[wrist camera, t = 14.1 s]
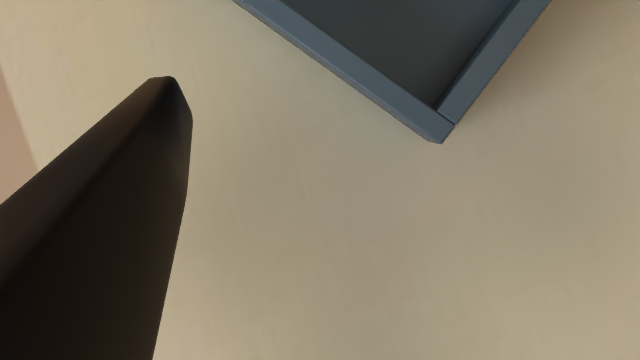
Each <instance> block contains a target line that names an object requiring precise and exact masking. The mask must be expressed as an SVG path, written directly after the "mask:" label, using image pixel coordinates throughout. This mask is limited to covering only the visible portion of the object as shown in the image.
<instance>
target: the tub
mask: <svg viewBox="0 0 640 360" xmlns="http://www.w3.org/2000/svg"><path fill="white" fill-rule="evenodd" d="M233 1H234V2H235V3H237V4H238V5H239V6H241V7H242V8H244V9H245V10H246V11H248V12H249V13H251V14H252V15H253V16H255V17H256V18H257V19H259V20H260V21H262V22H263V23H264V24H266V25H267V26H269V27H270V28H271V29H273V30H274V31H276V32H277V33H278V34H280V35H281V36H282V37H284V38H285V39H287V40H288V41H289V42H291V43H292V44H294V45H295V46H296V47H298V48H299V49H300V50H302V51H303V52H305V53H306V54H307V55H309V56H310V57H312V58H313V59H314V60H316V61H317V62H319V63H320V64H321V65H323V66H324V67H325V68H327V69H328V70H330V71H331V72H332V73H334V74H335V75H337V76H338V77H339V78H341V79H342V80H344V81H345V82H346V83H348V84H349V85H350V86H352V87H353V88H355V89H356V90H357V91H359V92H360V93H362V94H363V95H364V96H366V97H367V98H368V99H370V100H371V101H373V102H374V103H375V104H377V105H378V106H380V107H381V108H382V109H384V110H385V111H387V112H388V113H389V114H391V115H392V116H393V117H395V118H396V119H398V120H399V121H400V122H402V123H403V124H405V125H406V126H407V127H409V128H410V129H412V130H413V131H414V132H416V133H417V134H418V135H420V136H421V137H423V138H424V139H425V140H427V141H429V142H434V143H438V144H442V143H443V142H444V141H445V139H446V138H447V137H448V135H449V134H450V133H451V132H452V130H453V129H454V128H455V125H456V124H458V122H459V121H460V120H461V119H462V117H463V116H464V115H465V113H466V112H467V111H468V109H469V108H470V107H471V105H472V104H473V103H474V101H475V100H476V99H477V97H478V96H479V95H480V94H481V92H482V91H483V90H484V88H485V87H486V86H487V84H488V83H489V82H490V80H491V79H492V78H493V76H494V75H495V74H496V72H497V71H498V70H499V69H500V67H501V66H502V65H503V63H504V62H505V61H506V59H507V58H508V57H509V55H510V54H511V53H512V51H513V50H514V49H515V48H516V46H517V45H518V44H519V42H520V41H521V40H522V38H523V37H524V36H525V34H526V33H527V32H528V30H529V29H530V28H531V26H532V25H533V24H534V23H535V21H536V20H537V19H538V17H539V16H540V15H541V13H542V12H543V11H544V9H545V8H546V7H547V5H548V4H549V3H550V1H551V0H233Z"/></svg>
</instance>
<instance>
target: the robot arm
mask: <svg viewBox="0 0 640 360" xmlns="http://www.w3.org/2000/svg"><path fill="white" fill-rule="evenodd" d="M192 128H193V118H192V113H191V110H190V108H189V106H188V104H187V101H186V99H185V97H184V95H183V93H182V91H181V89H180V86H179V84H178V82H177V81H176V80H175V78H173V77H171V76H165V77H154V78H150V79H148V80H147V81H146V82H144V83H143V84H142V85H141V86H140V87H139V88H137V89H136V90H135V91H134V92H133V93H132V94H130V95H129V96H128V97H127V98H126V99H124V100H123V101H122V102H121V103H120V104H119V105H117V106H116V107H115V108H114V109H113V110H111V111H110V112H109V113H108V114H107V115H106V116H104V117H103V118H102V119H101V120H100V121H99V122H97V123H96V124H95V125H94V126H93V127H91V128H90V129H89V130H88V131H87V132H86V133H84V134H83V135H82V136H81V137H80V138H78V139H77V140H76V141H75V142H74V143H73V144H71V145H70V146H69V147H68V148H67V149H66V150H64V151H63V152H62V153H61V154H60V155H58V156H57V157H56V158H55V159H54V160H53V161H51V162H50V163H49V164H48V165H47V166H46V167H44V168H43V169H42V170H41V171H40V172H38V173H37V174H36V175H35V176H34V177H33V178H31V179H30V180H29V181H28V182H27V183H25V184H24V185H23V186H22V187H21V188H20V189H18V190H17V191H16V192H15V193H14V194H13V195H11V196H10V197H9V198H8V199H7V200H5V201H4V202H3V203H2V204H1V205H0V360H152V359H153V354H154V349H155V345H156V340H157V335H158V330H159V326H160V321H161V316H162V311H163V307H164V302H165V297H166V292H167V288H168V283H169V278H170V273H171V268H172V264H173V259H174V254H175V249H176V245H177V240H178V235H179V230H180V226H181V221H182V216H183V211H184V206H185V201H186V195H187V187H188V176H189V164H190V152H191V140H192Z"/></svg>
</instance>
